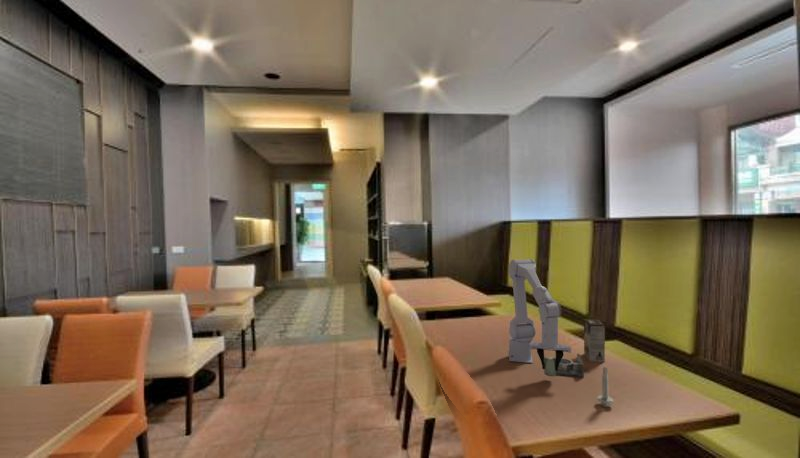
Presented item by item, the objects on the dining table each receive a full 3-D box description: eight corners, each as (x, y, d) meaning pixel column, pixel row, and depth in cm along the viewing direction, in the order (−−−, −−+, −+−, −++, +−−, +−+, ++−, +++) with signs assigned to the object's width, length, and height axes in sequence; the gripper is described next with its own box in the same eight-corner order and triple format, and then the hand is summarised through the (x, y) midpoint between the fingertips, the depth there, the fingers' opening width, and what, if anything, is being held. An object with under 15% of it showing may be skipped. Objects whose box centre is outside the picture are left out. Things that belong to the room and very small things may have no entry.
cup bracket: (547, 373, 149) (547, 361, 149) (545, 362, 161) (545, 350, 161) (583, 377, 145) (583, 364, 145) (579, 365, 157) (579, 353, 156)
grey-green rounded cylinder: (544, 375, 142) (544, 360, 142) (544, 371, 146) (544, 356, 146) (556, 376, 141) (556, 361, 141) (555, 372, 145) (555, 357, 144)
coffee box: (583, 353, 170) (583, 318, 169) (598, 354, 169) (598, 319, 168) (589, 361, 161) (589, 324, 160) (605, 362, 160) (605, 325, 159)
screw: (597, 407, 123) (596, 400, 127) (614, 410, 121) (612, 403, 126) (597, 368, 122) (596, 362, 127) (614, 370, 121) (612, 364, 125)
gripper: (529, 335, 141) (530, 371, 142) (571, 338, 137) (571, 375, 137) (529, 329, 148) (529, 363, 148) (569, 332, 143) (569, 367, 144)
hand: (549, 368), depth 143 cm, fingers closed on grey-green rounded cylinder, 4 cm apart
